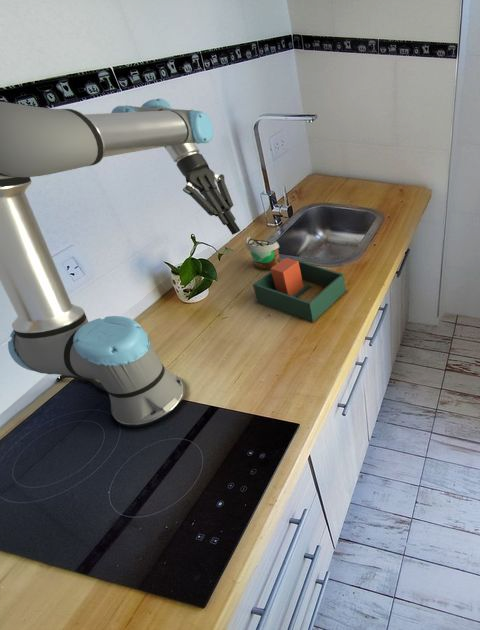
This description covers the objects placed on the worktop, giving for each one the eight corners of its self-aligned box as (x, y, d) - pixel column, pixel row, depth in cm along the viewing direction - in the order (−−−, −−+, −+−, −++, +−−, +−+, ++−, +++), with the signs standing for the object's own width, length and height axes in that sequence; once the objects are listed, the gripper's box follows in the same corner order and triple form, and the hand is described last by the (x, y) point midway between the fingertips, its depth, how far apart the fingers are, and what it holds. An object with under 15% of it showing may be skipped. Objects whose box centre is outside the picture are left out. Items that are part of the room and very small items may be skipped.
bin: (257, 302, 128) (252, 284, 123) (293, 274, 140) (290, 257, 136) (313, 322, 121) (309, 304, 116) (345, 291, 134) (343, 274, 129)
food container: (244, 268, 143) (237, 243, 136) (254, 259, 147) (248, 235, 141) (274, 274, 140) (268, 250, 134) (283, 265, 145) (278, 241, 138)
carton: (277, 296, 130) (270, 268, 123) (292, 285, 136) (286, 257, 129) (289, 300, 129) (283, 272, 122) (304, 288, 134) (298, 261, 127)
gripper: (202, 158, 120) (247, 228, 127) (162, 169, 111) (213, 244, 118) (213, 147, 115) (259, 221, 123) (171, 158, 106) (224, 237, 113)
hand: (236, 232), depth 120 cm, fingers closed
